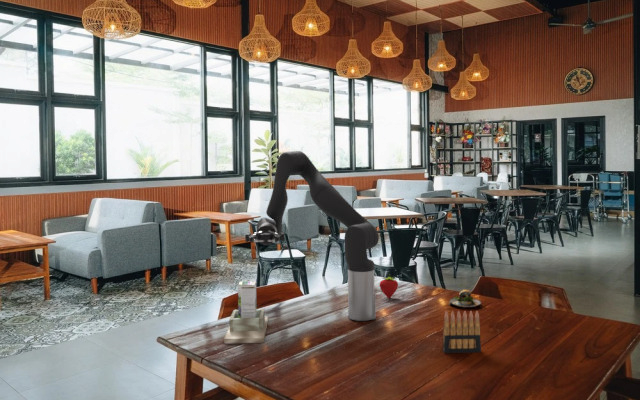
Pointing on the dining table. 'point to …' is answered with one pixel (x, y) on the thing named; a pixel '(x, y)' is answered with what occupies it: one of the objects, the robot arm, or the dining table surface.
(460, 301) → the burger
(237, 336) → the stand
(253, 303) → the syrup box
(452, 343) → the ammunition clip
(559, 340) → the dining table surface
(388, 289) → the strawberry
